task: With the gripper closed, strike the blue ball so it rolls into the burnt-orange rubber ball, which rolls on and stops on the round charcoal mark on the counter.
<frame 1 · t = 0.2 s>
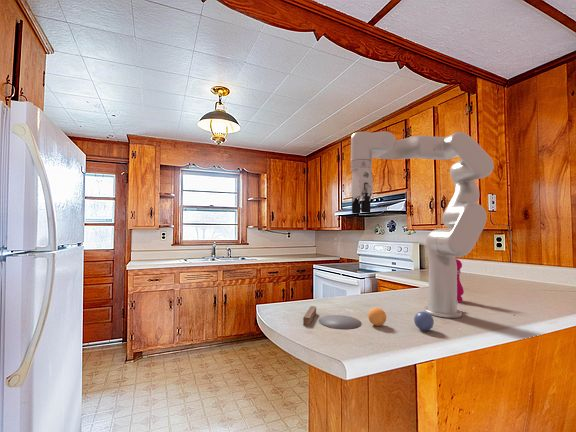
hand: (360, 213, 109), 37 cm above the countertop, tool pointing down, fingers open, 9 cm apart
blue ball: (423, 320, 93), on the countertop
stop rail: (310, 318, 102), on the countertop
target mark: (339, 321, 99), on the countertop
object ball: (377, 316, 96), on the countertop
pepper mill: (454, 301, 132), on the countertop
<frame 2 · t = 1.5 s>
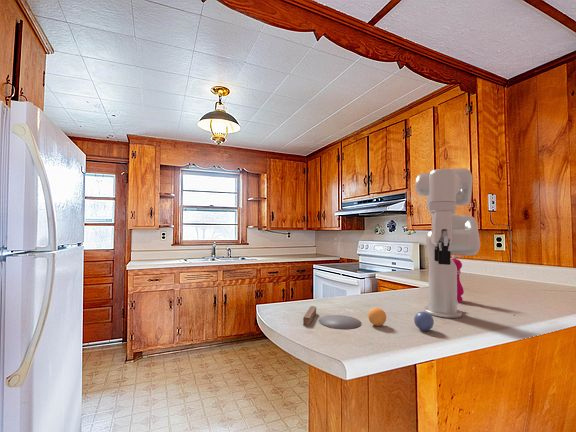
hand: (442, 262, 93), 21 cm above the countertop, tool pointing down, fingers open, 9 cm apart
nothing on the countertop moved.
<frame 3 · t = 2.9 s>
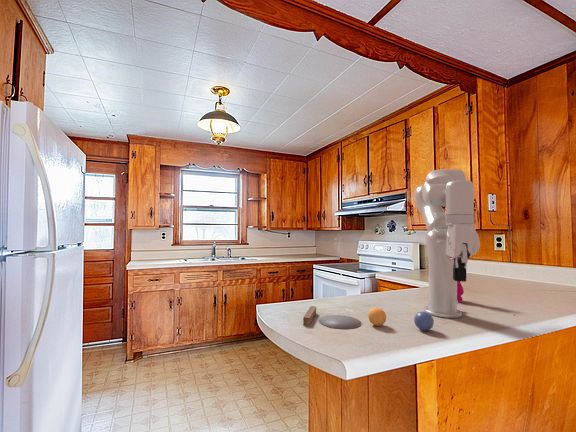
hand: (459, 280, 91), 16 cm above the countertop, tool pointing down, fingers closed
nothing on the countertop moved.
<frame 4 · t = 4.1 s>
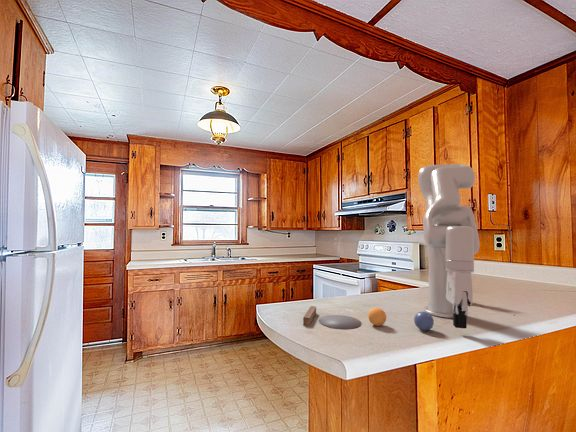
hand: (459, 327, 90), 2 cm above the countertop, tool pointing down, fingers closed
nothing on the countertop moved.
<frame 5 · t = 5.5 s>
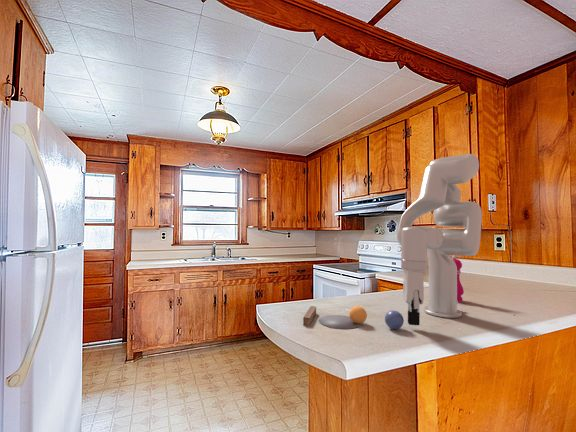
hand: (413, 324, 94), 2 cm above the countertop, tool pointing down, fingers closed
blue ball: (394, 319, 94), on the countertop
object ball: (358, 314, 98), on the countertop
everything else where it was.
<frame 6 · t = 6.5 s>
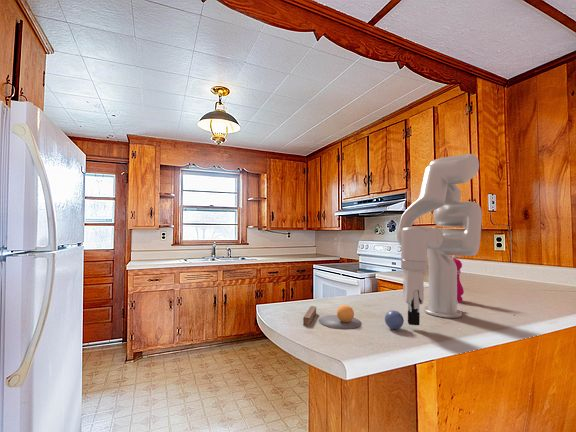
hand: (413, 324, 94), 2 cm above the countertop, tool pointing down, fingers closed
object ball: (345, 313, 99), on the countertop
everything else where it was.
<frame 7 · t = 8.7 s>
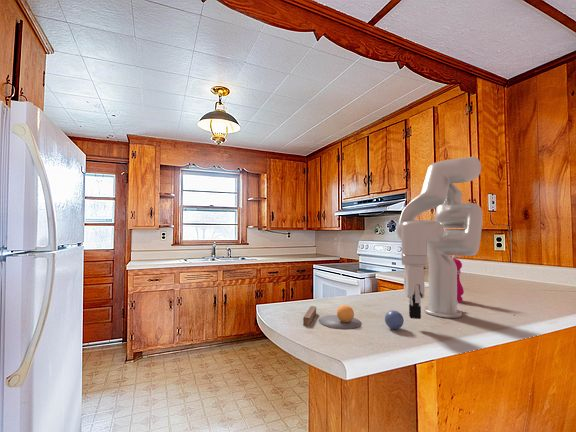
hand: (415, 317, 95), 3 cm above the countertop, tool pointing down, fingers closed
nothing on the countertop moved.
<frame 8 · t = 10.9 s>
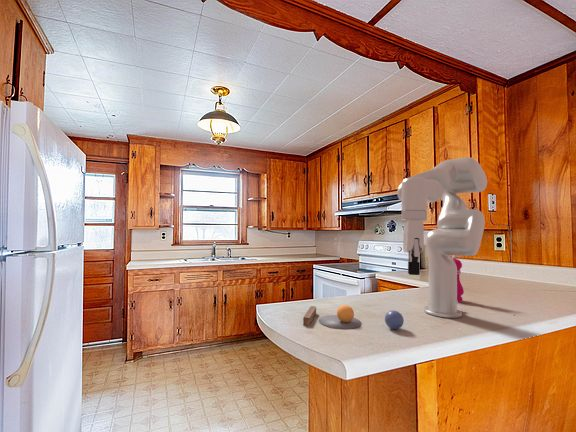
hand: (413, 274, 94), 17 cm above the countertop, tool pointing down, fingers closed
nothing on the countertop moved.
at the end: object ball 1.9 cm from the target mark (horizontally); object ball never touched the robot; blue ball first touched object ball at 4.9 s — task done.
